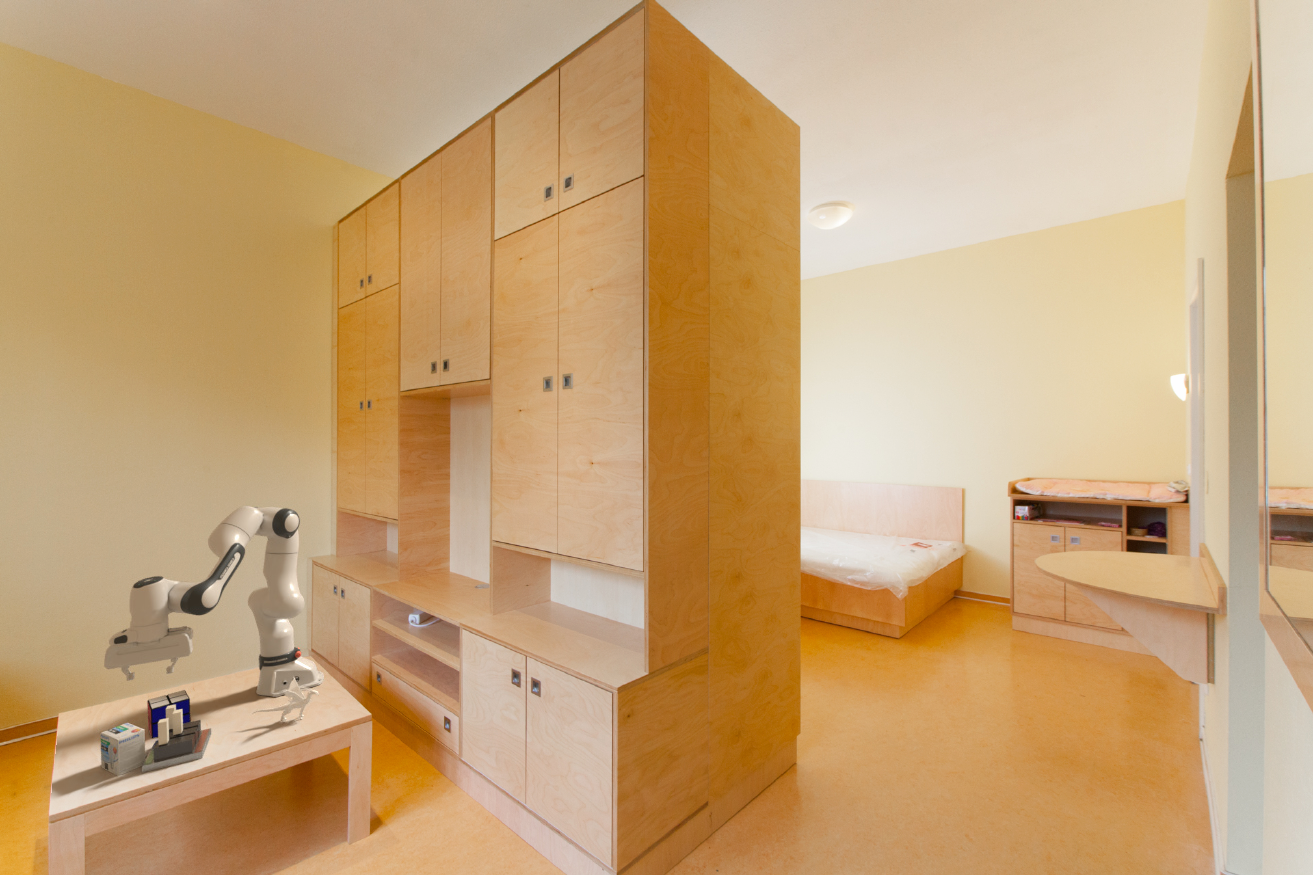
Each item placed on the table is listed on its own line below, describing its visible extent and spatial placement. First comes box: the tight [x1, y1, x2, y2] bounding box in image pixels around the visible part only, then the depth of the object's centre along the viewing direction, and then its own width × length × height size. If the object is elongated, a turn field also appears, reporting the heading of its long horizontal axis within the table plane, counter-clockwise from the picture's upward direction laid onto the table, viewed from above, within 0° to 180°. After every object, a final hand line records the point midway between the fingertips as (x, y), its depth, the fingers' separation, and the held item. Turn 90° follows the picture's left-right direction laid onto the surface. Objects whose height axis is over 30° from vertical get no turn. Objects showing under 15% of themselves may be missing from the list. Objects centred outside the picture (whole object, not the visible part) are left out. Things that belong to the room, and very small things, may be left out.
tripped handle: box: [172, 709, 183, 735], centre depth 177 cm, size 2×2×7 cm
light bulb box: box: [99, 722, 146, 777], centre depth 170 cm, size 11×7×11 cm, turn 65°
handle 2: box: [166, 704, 176, 730], centre depth 180 cm, size 2×2×7 cm
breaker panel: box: [141, 719, 212, 774], centre depth 177 cm, size 14×16×6 cm
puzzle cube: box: [146, 689, 192, 739], centre depth 192 cm, size 10×10×10 cm
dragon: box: [251, 678, 320, 723], centre depth 195 cm, size 11×20×13 cm, turn 111°
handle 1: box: [157, 718, 169, 745], centre depth 171 cm, size 2×2×7 cm
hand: (150, 675), depth 173 cm, fingers open, 8 cm apart
